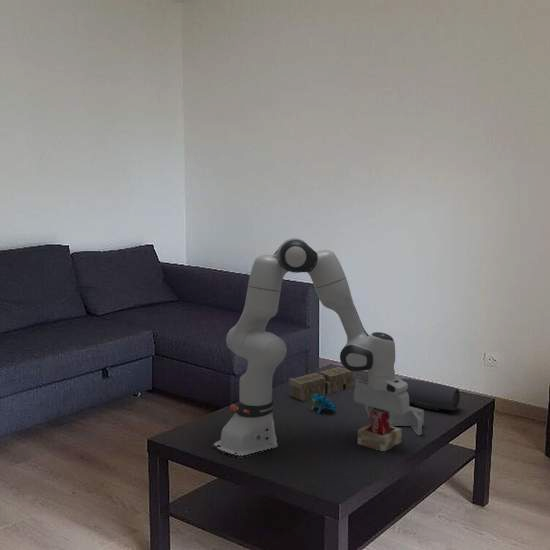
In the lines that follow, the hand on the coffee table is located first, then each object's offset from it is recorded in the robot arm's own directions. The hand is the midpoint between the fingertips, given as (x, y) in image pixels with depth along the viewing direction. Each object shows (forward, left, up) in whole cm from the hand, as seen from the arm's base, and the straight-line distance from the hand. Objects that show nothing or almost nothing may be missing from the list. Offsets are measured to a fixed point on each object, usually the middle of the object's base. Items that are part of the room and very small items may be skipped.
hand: (380, 420), depth 245 cm
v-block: (+19, 0, -8) cm, 20 cm away
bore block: (0, 0, -8) cm, 8 cm away
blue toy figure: (+12, +33, -8) cm, 36 cm away
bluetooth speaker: (+42, +6, -8) cm, 43 cm away
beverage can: (0, 0, -8) cm, 8 cm away
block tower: (+29, +47, -9) cm, 56 cm away
